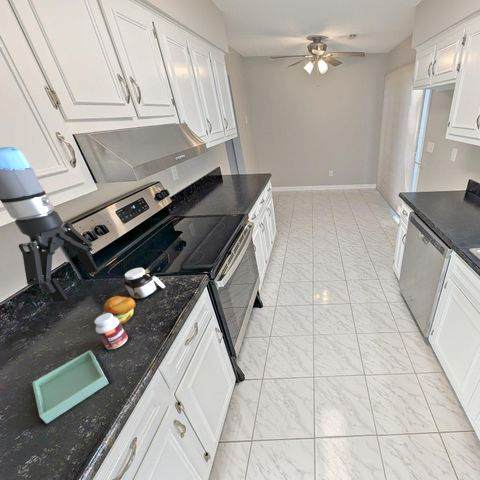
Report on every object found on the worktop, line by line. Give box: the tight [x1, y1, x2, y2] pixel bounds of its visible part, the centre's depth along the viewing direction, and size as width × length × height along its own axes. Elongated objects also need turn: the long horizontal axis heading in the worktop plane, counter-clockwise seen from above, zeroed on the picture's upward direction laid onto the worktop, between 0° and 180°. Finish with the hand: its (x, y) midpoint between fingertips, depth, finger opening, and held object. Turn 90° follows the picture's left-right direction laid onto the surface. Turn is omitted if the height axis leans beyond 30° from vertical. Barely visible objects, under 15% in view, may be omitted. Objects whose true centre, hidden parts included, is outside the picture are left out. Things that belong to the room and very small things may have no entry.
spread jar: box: [124, 267, 167, 301], centre depth 108 cm, size 12×11×12 cm
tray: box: [32, 349, 110, 425], centre depth 72 cm, size 15×13×3 cm
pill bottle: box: [94, 313, 128, 350], centre depth 83 cm, size 6×6×11 cm
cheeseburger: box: [101, 295, 137, 325], centre depth 95 cm, size 10×11×10 cm
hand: (78, 285), depth 71 cm, fingers open, 13 cm apart
